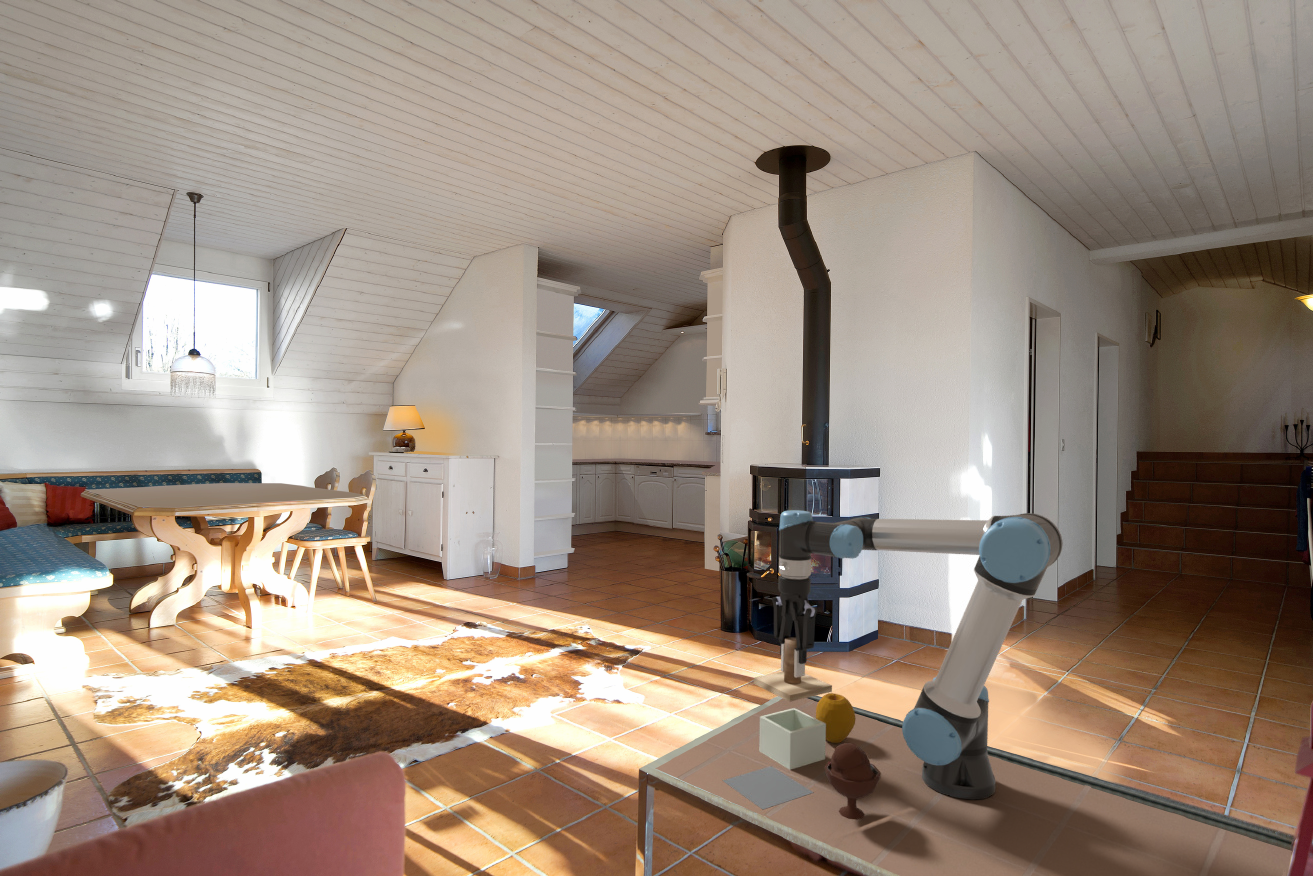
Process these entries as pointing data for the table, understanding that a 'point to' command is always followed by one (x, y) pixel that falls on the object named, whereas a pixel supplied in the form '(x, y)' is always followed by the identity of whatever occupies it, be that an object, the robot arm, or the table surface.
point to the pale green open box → (792, 738)
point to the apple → (836, 716)
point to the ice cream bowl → (851, 777)
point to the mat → (767, 787)
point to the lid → (792, 679)
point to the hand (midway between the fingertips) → (792, 673)
